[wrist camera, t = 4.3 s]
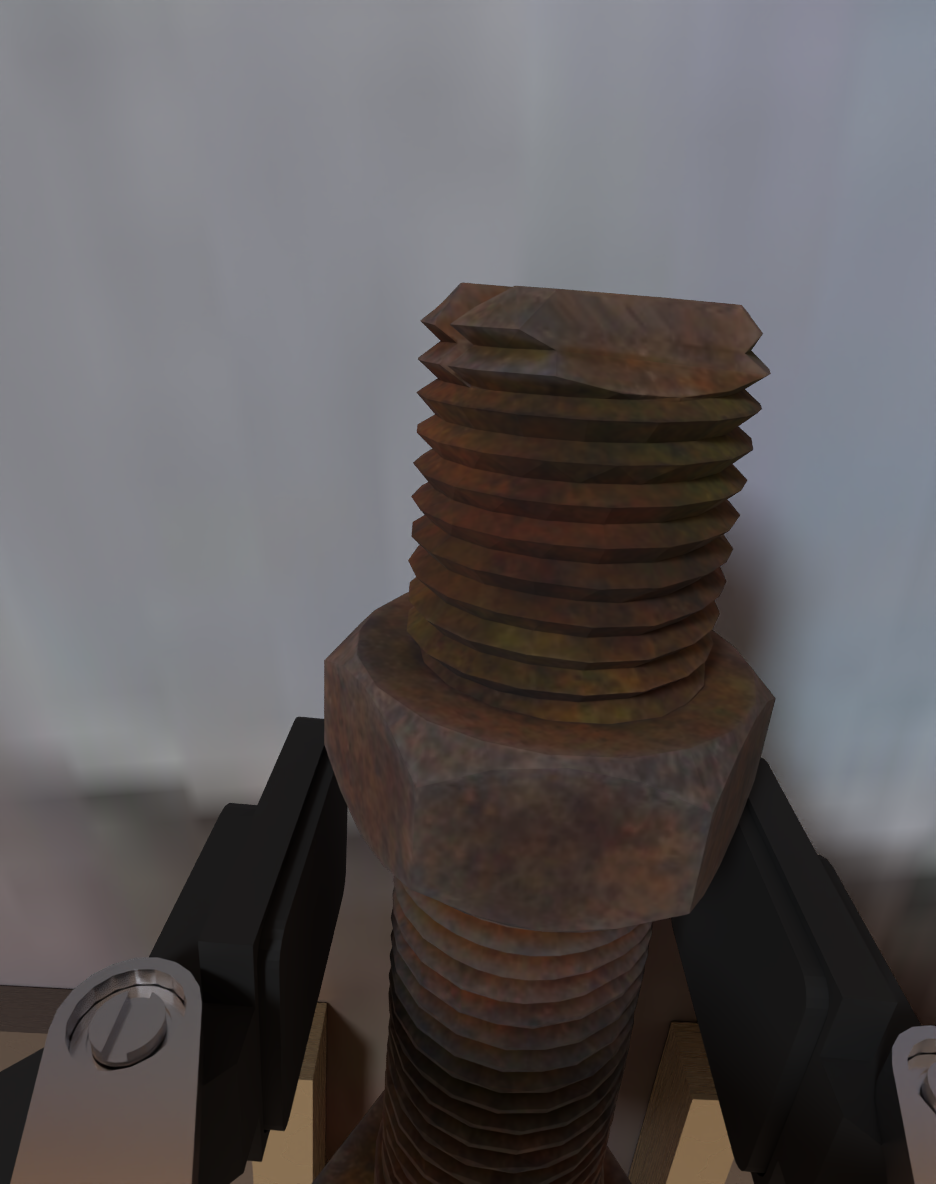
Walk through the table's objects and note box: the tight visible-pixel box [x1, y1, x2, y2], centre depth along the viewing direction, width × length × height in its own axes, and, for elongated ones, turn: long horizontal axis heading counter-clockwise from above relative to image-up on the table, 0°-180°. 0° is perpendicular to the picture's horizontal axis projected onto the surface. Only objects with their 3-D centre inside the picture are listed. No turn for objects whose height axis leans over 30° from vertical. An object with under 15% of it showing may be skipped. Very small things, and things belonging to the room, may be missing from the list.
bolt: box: [312, 283, 775, 1184], centre depth 10 cm, size 6×5×15 cm
